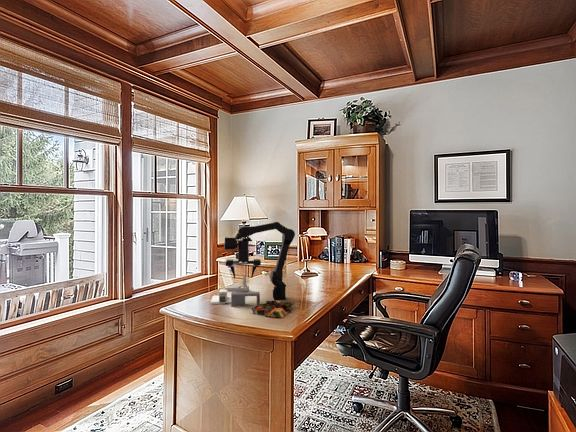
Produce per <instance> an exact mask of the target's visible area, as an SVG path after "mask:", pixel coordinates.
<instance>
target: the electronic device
mask: <svg viewBox="0 0 576 432" xmlns="http://www.w3.org/2000/svg"><path fill="white" fill-rule="evenodd" d="M224 290H227V292H231V291H233V292H250V285H249V286H248V285H247V277H246V274H243V275H242V285H226V286H224Z"/></svg>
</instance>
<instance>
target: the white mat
mask: <svg viewBox="0 0 576 432" xmlns="http://www.w3.org/2000/svg"><path fill="white" fill-rule="evenodd" d="M209 303H210V305H222V304H224V305H225V303H231V294H229V295H228V294H227V299H226V300H225V302H219V294H218V295H212V297H211V300H210V302H209Z"/></svg>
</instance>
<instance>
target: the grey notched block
mask: <svg viewBox="0 0 576 432" xmlns="http://www.w3.org/2000/svg"><path fill="white" fill-rule="evenodd" d="M230 293H231V294H230V295H231V304H230V306H231V307H245V306H246V297H256V305H258V306H261V305H260V304H261V302H260V301H261V295H260V291H246V292H230Z"/></svg>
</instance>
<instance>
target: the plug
mask: <svg viewBox="0 0 576 432" xmlns="http://www.w3.org/2000/svg"><path fill="white" fill-rule="evenodd" d="M218 295H219V302H225V300H226V299H227V295H228V291H227V290H225V289H219V292H218Z"/></svg>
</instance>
